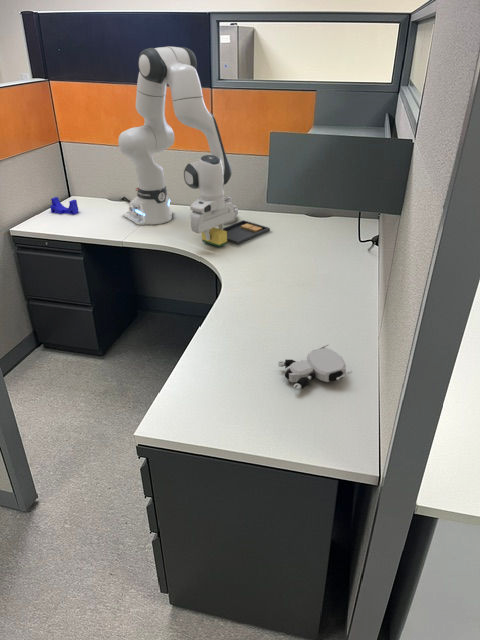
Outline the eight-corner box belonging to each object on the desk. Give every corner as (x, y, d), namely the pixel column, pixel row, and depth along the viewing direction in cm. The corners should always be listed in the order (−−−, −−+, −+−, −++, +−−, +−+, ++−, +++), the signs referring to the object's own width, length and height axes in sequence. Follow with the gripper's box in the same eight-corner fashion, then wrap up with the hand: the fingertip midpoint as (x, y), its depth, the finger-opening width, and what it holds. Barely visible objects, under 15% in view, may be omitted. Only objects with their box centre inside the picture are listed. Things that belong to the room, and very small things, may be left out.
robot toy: (295, 400, 115) (353, 383, 119) (295, 385, 113) (354, 368, 116) (275, 370, 125) (329, 355, 129) (275, 356, 123) (330, 341, 126)
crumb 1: (240, 227, 208) (240, 225, 207) (247, 225, 210) (247, 223, 210) (248, 229, 205) (247, 228, 205) (254, 227, 208) (254, 225, 208)
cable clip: (51, 212, 229) (48, 199, 226) (58, 209, 233) (55, 196, 230) (72, 215, 225) (69, 202, 222) (78, 212, 228) (76, 199, 225)
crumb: (248, 230, 205) (248, 228, 205) (255, 227, 208) (255, 225, 207) (256, 232, 203) (256, 230, 202) (262, 229, 205) (262, 227, 205)
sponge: (202, 241, 193) (201, 229, 191) (210, 238, 196) (209, 225, 193) (219, 247, 188) (218, 234, 185) (227, 243, 191) (226, 231, 188)
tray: (211, 237, 201) (210, 232, 200) (243, 224, 213) (243, 220, 212) (237, 246, 192) (237, 241, 191) (269, 232, 205) (269, 227, 204)
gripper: (225, 193, 192) (226, 227, 199) (186, 206, 179) (189, 243, 186) (237, 196, 189) (238, 231, 196) (198, 210, 176) (201, 247, 183)
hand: (214, 237), depth 191 cm, fingers closed on sponge, 4 cm apart
